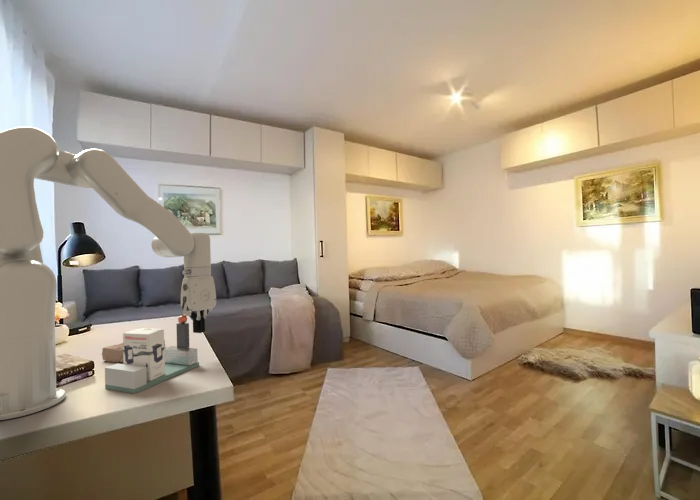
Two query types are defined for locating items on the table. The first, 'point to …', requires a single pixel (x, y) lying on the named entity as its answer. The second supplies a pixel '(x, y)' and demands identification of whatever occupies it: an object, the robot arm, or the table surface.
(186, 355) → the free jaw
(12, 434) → the table surface
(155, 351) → the ink box
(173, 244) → the robot arm
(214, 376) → the table surface
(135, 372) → the vise
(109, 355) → the brick
